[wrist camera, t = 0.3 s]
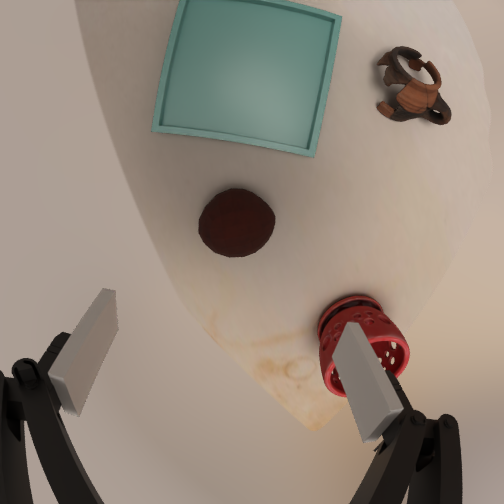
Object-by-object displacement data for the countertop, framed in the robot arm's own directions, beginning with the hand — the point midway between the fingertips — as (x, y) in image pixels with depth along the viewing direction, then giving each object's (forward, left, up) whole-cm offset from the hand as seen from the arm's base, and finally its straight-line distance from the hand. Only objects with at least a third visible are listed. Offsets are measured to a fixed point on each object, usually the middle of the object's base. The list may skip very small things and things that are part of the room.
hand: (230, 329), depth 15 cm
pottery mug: (-21, +19, -24) cm, 37 cm away
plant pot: (+16, +21, -24) cm, 36 cm away
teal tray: (-18, -2, -24) cm, 30 cm away
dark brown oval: (+1, 0, -24) cm, 24 cm away
